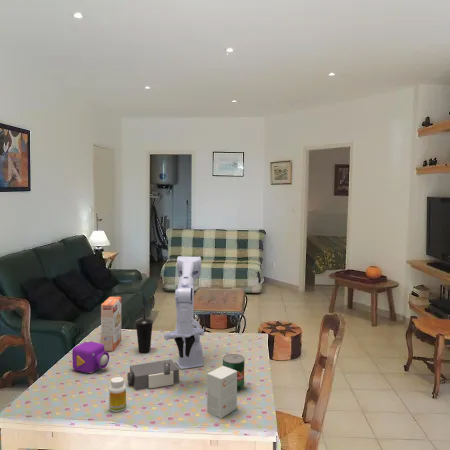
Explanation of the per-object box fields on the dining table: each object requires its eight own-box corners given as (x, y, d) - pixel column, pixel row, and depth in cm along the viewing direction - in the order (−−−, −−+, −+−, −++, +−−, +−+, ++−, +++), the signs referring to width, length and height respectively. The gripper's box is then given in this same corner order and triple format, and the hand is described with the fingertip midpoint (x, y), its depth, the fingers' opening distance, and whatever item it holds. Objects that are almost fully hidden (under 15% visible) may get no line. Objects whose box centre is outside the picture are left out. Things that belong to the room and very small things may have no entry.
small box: (222, 402, 147) (222, 365, 146) (237, 408, 143) (237, 370, 142) (206, 411, 141) (206, 373, 140) (221, 418, 137) (221, 379, 135)
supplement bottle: (128, 409, 142) (128, 380, 141) (112, 414, 139) (111, 384, 138) (122, 402, 146) (122, 374, 145) (106, 406, 143) (106, 378, 142)
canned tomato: (240, 394, 153) (240, 364, 152) (219, 390, 155) (219, 360, 154) (246, 384, 160) (247, 355, 159) (226, 381, 163) (227, 352, 162)
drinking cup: (156, 350, 191) (156, 305, 189) (144, 356, 185) (144, 310, 183) (144, 346, 195) (143, 303, 193) (131, 352, 189) (131, 307, 187)
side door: (172, 383, 160) (172, 361, 159) (174, 386, 158) (174, 364, 157) (148, 387, 156) (148, 365, 155) (150, 390, 154) (149, 368, 153)
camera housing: (171, 371, 170) (171, 359, 170) (179, 382, 161) (179, 369, 160) (125, 379, 163) (125, 366, 163) (131, 391, 154) (131, 377, 153)
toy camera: (101, 376, 165) (101, 351, 164) (69, 373, 168) (68, 347, 167) (114, 365, 176) (114, 341, 175) (83, 361, 178) (83, 338, 177)
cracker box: (114, 351, 189) (113, 304, 187) (100, 351, 189) (99, 304, 187) (122, 340, 203) (122, 296, 201) (109, 339, 203) (108, 296, 201)
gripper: (168, 325, 151) (168, 363, 153) (207, 321, 157) (206, 357, 158) (162, 319, 158) (162, 356, 159) (200, 315, 163) (200, 350, 165)
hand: (184, 356), depth 159 cm, fingers closed
